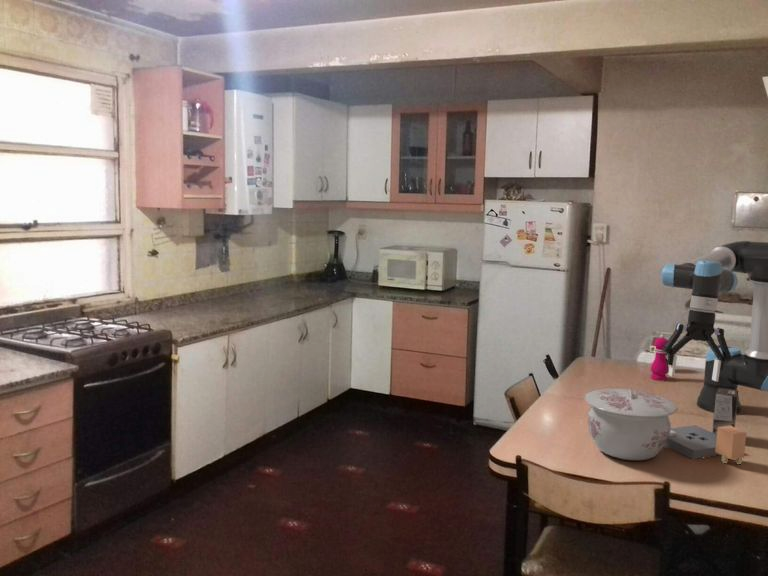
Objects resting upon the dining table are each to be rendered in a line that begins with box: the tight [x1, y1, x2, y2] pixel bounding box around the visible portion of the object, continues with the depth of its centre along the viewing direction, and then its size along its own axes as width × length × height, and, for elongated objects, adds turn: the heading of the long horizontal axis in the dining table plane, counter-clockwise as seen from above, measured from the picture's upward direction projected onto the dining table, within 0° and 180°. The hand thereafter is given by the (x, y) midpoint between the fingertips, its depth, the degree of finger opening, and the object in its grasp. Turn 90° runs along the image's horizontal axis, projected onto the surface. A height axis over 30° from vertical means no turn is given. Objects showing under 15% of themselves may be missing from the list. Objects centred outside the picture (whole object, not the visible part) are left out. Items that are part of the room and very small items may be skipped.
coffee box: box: [711, 388, 739, 434], centre depth 228 cm, size 9×6×16 cm
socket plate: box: [664, 424, 721, 460], centre depth 221 cm, size 18×18×4 cm
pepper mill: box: [650, 334, 669, 382], centre depth 299 cm, size 7×7×20 cm
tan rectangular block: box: [715, 426, 747, 464], centre depth 208 cm, size 5×6×10 cm
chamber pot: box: [584, 388, 678, 462], centre depth 213 cm, size 28×28×21 cm
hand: (693, 378), depth 212 cm, fingers open, 13 cm apart
